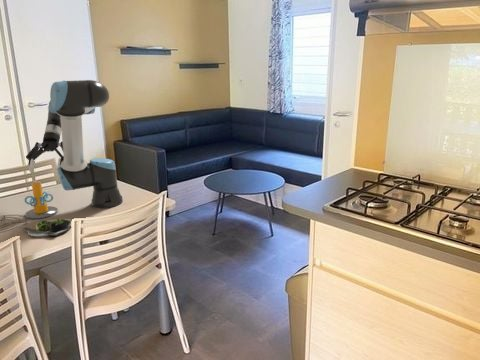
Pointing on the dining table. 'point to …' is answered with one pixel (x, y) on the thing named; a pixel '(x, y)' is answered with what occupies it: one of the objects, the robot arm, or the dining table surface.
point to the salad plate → (50, 228)
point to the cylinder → (38, 198)
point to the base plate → (33, 215)
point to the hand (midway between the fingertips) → (44, 171)
